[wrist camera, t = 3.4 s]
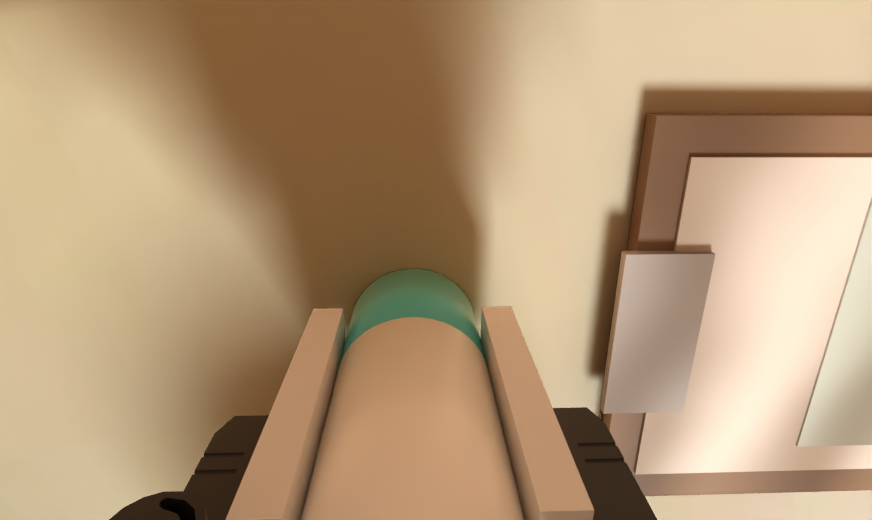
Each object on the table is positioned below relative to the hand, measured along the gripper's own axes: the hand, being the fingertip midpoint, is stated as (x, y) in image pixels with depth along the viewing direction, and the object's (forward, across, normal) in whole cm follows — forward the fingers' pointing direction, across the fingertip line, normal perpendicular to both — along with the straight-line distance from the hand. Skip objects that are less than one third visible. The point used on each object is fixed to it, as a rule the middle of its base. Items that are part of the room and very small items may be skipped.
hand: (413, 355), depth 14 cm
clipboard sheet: (+2, -14, 0) cm, 14 cm away
